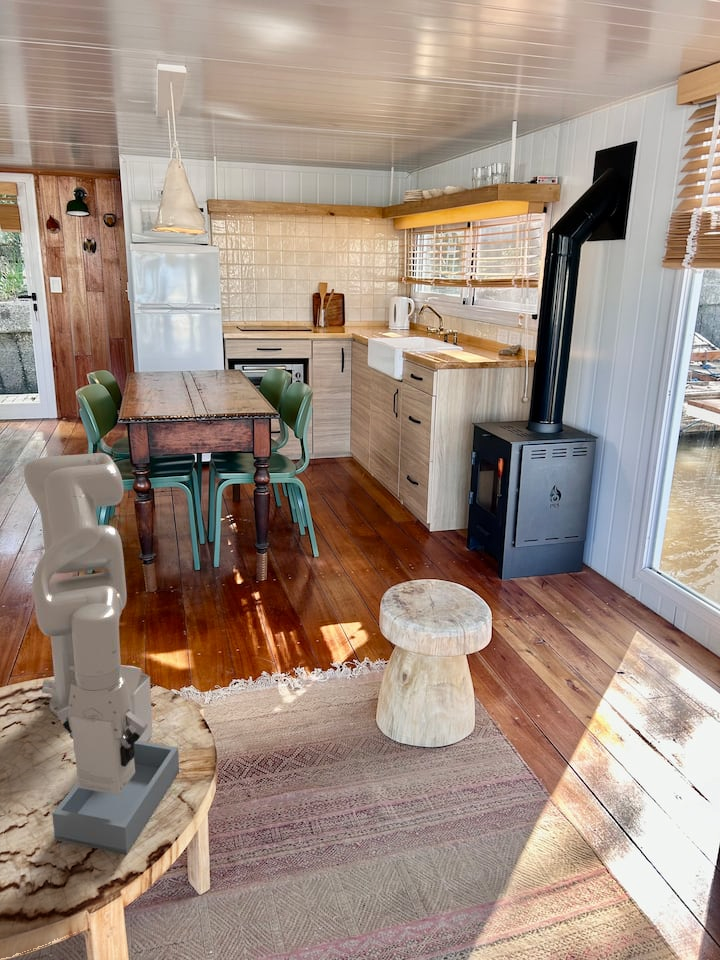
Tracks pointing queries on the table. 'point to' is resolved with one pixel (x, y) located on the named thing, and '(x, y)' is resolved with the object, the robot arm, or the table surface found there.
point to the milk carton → (139, 697)
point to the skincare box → (99, 756)
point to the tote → (118, 803)
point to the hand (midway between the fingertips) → (104, 757)
